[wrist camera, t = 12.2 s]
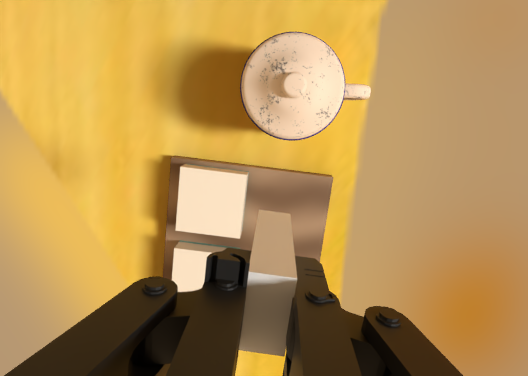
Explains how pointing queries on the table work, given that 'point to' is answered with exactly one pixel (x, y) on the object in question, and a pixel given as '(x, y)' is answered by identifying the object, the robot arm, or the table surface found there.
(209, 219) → the tile
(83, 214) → the table surface
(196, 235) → the walnut board
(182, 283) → the tile
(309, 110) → the teacup with lid
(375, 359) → the robot arm
